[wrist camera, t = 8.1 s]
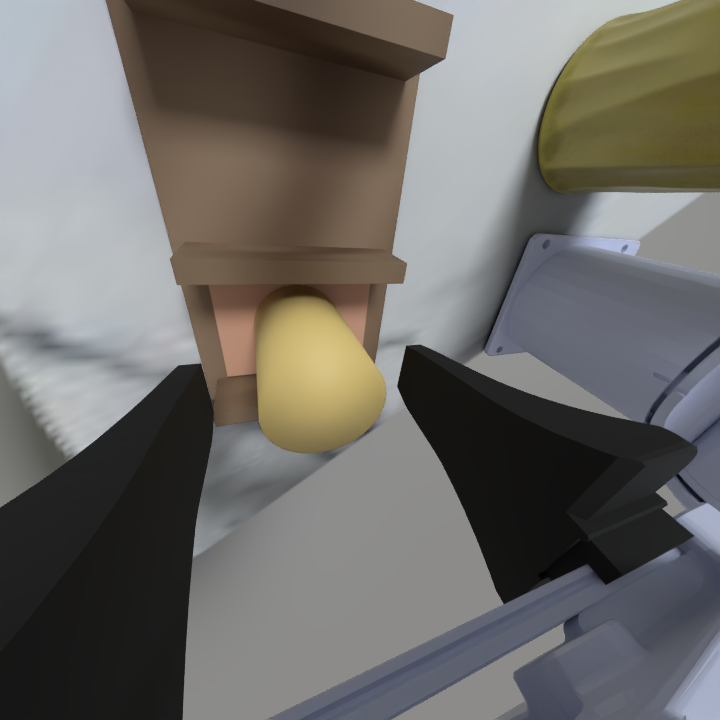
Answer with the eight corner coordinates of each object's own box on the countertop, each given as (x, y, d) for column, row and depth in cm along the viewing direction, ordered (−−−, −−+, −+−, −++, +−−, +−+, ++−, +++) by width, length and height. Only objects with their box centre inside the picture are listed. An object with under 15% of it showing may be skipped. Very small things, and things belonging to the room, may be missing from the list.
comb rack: (419, 36, 9) (475, -9, 7) (369, 374, 17) (388, 406, 15) (93, -70, 7) (5, -204, 4) (212, 393, 14) (205, 436, 12)
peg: (340, 284, 13) (395, 348, 8) (336, 356, 15) (377, 440, 10) (249, 284, 11) (251, 361, 7) (258, 364, 13) (264, 464, 9)
